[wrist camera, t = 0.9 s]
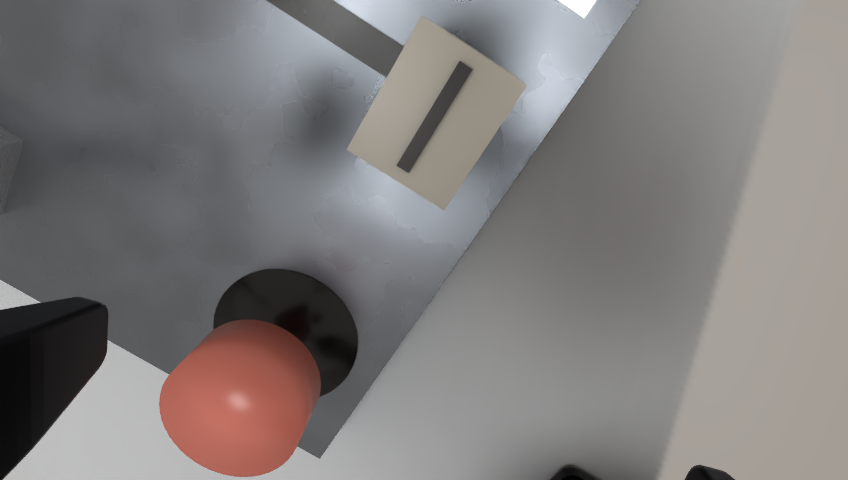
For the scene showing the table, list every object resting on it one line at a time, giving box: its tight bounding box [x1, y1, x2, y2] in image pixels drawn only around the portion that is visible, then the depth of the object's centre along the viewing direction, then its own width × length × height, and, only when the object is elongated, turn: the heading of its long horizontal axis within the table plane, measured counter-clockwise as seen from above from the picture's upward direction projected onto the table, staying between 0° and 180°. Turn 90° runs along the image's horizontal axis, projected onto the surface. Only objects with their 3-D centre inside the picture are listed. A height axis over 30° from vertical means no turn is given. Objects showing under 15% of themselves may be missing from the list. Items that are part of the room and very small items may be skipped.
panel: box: [0, 0, 641, 459], centre depth 17 cm, size 18×20×4 cm
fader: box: [346, 16, 527, 210], centre depth 13 cm, size 2×3×5 cm
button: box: [159, 319, 321, 477], centre depth 16 cm, size 4×4×2 cm
